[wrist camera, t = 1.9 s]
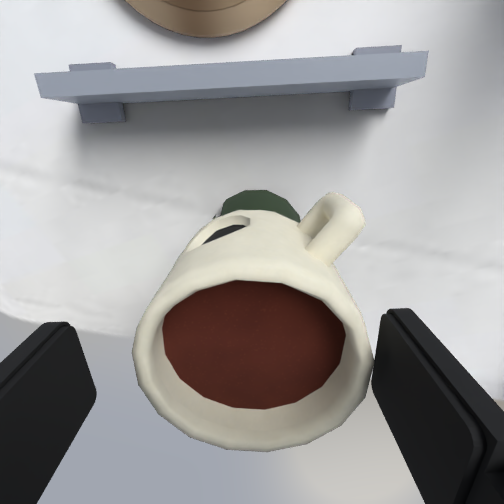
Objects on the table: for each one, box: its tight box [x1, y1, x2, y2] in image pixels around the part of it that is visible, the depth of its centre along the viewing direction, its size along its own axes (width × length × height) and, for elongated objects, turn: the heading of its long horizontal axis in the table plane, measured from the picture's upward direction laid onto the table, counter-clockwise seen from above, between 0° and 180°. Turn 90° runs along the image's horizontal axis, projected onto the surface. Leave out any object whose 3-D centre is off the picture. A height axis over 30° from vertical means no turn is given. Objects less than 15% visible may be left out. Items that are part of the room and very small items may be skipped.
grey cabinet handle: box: [34, 45, 428, 123], centre depth 15 cm, size 18×3×4 cm, turn 93°
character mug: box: [132, 190, 374, 452], centre depth 14 cm, size 11×7×13 cm, turn 143°
